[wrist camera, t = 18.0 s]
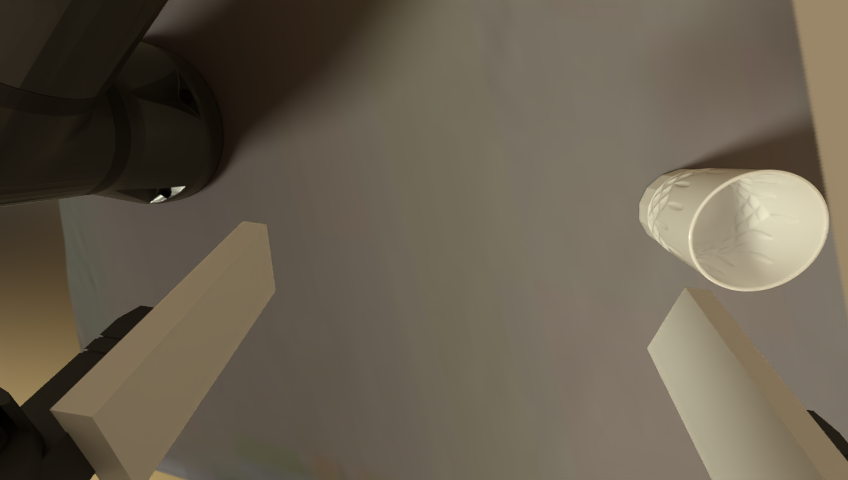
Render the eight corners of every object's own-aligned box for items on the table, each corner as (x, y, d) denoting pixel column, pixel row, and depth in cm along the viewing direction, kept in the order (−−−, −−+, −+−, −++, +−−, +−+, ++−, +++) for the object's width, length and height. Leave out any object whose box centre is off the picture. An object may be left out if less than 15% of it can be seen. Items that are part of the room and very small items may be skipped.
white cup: (655, 149, 33) (728, 152, 23) (746, 178, 33) (858, 193, 23) (615, 234, 35) (667, 268, 26) (700, 262, 35) (785, 308, 25)
